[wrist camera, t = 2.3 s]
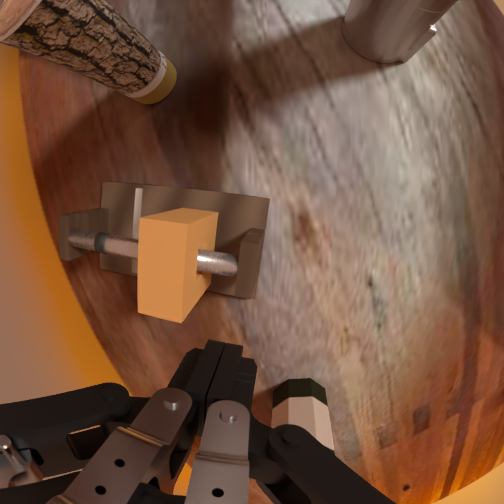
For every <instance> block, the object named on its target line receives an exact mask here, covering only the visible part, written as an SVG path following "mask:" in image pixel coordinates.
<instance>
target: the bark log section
mask: <svg viewBox="0 0 504 504" xmlns="http://www.w3.org/2000/svg"><path fill="white" fill-rule="evenodd" d="M0 43H3V44H6V45H9V46H12V47H15V48H17V49H20V50H23V51H26V52H28V53H31V54H34V55H36V56H39V57H41V58H44V59H46V60H49V61H51V62H54V63H56V64H58V65H61V66H63V67H65V68H68V69H70V70H72V71H75V72H77V73H79V74H81V75H83V76H86V77H88V78H90V79H92V80H94V81H96V82H99V83H101V84H103V85H105V86H107V87H109V88H111V89H113V90H115V91H117V92H119V93H121V94H123V95H125V96H127V97H129V98H131V99H133V100H135V101H137V102H139V103H142V104H153V103H156V102H159V101H161V100H162V99H164V98H165V97H166V96H167V95H168V94H169V93H170V92H171V91H172V89H173V87H174V85H175V83H176V78H177V73H176V69H175V67H174V66H173V64H172V63H171V62H170V61H169V60H168V59H167V58H166V57H165V56H164V55H163V54H162V53H161V52H160V51H159V50H158V49H157V48H156V47H155V46H154V45H153V44H152V43H151V42H150V41H149V40H148V39H146V38H145V37H144V36H143V35H142V34H141V33H140V32H139V31H138V30H137V29H136V28H135V27H134V26H133V25H132V24H130V23H129V22H128V21H127V20H126V19H125V18H124V17H123V16H122V15H120V14H119V13H118V12H117V11H116V10H115V9H114V8H113V7H111V6H110V5H109V4H108V3H107V2H106V1H104V0H5V1H4V3H3V4H2V6H1V7H0Z"/></svg>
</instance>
